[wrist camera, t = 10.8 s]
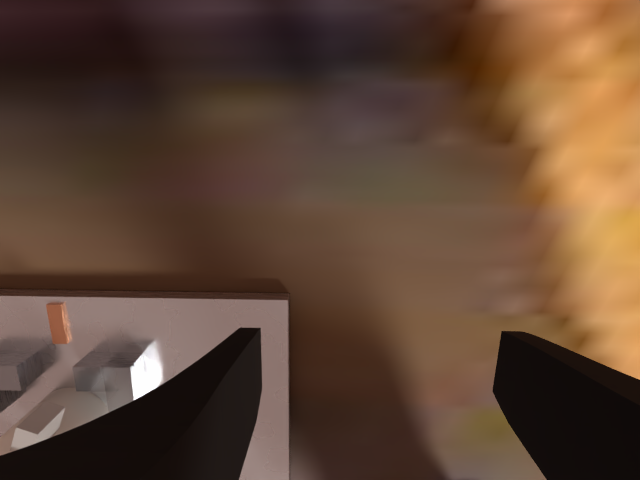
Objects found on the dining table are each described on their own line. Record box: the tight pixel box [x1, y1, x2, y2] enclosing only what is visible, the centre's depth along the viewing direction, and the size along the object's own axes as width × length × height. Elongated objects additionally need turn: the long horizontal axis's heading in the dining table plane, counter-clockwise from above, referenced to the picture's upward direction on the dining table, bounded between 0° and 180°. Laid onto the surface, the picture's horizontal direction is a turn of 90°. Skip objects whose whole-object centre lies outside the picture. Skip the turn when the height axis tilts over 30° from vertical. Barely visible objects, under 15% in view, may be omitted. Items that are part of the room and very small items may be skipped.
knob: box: [0, 388, 109, 455], centre depth 18 cm, size 6×4×5 cm
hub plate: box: [0, 289, 290, 480], centre depth 21 cm, size 16×18×2 cm
